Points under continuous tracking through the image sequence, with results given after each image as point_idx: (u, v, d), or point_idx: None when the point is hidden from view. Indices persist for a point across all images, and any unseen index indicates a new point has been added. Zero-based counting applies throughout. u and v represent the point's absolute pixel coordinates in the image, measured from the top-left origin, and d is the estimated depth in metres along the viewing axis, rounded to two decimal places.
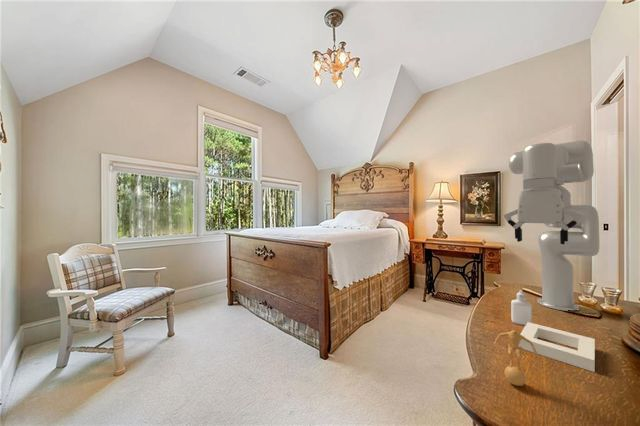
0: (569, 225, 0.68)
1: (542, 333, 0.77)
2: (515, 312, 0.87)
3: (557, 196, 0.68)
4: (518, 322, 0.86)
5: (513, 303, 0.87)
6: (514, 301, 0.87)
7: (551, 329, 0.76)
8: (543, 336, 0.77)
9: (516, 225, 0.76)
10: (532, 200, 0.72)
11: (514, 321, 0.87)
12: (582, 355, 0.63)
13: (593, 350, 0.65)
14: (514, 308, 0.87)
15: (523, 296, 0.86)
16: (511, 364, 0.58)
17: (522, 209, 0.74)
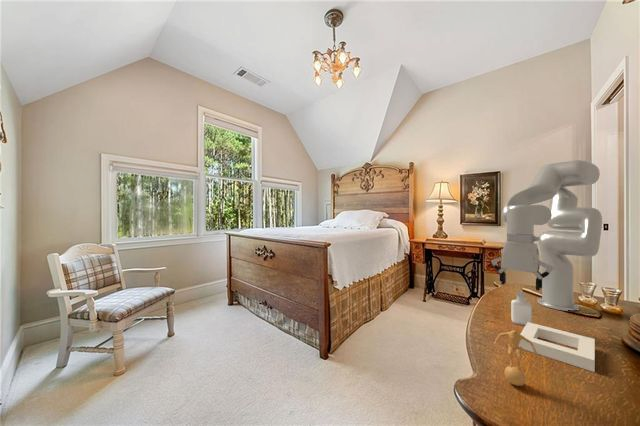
0: (543, 275, 0.82)
1: (542, 333, 0.77)
2: (515, 312, 0.87)
3: (533, 250, 0.83)
4: (518, 322, 0.86)
5: (513, 303, 0.87)
6: (514, 301, 0.87)
7: (551, 329, 0.76)
8: (543, 336, 0.77)
9: (500, 270, 0.90)
10: (513, 251, 0.86)
11: (514, 321, 0.87)
12: (582, 355, 0.63)
13: (593, 350, 0.65)
14: (514, 308, 0.87)
15: (523, 296, 0.86)
16: (511, 364, 0.58)
17: (505, 258, 0.88)
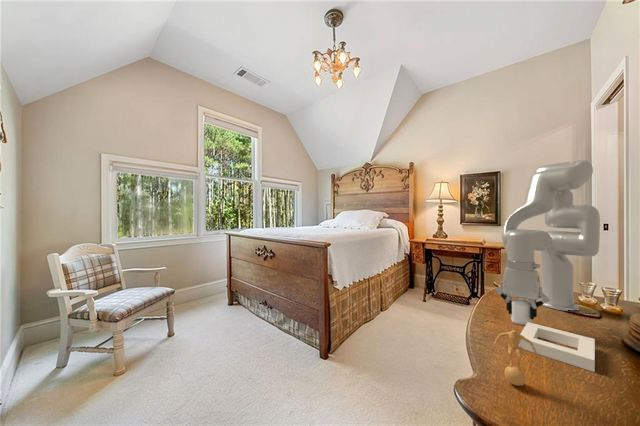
0: (537, 304, 0.83)
1: (542, 333, 0.77)
2: (515, 312, 0.87)
3: (534, 278, 0.83)
4: (518, 322, 0.86)
5: (513, 303, 0.87)
6: (514, 301, 0.87)
7: (551, 329, 0.76)
8: (543, 336, 0.77)
9: (507, 300, 0.89)
10: (514, 278, 0.87)
11: (514, 321, 0.87)
12: (582, 355, 0.63)
13: (593, 350, 0.65)
14: (514, 308, 0.87)
15: None
16: (511, 364, 0.58)
17: (506, 284, 0.89)
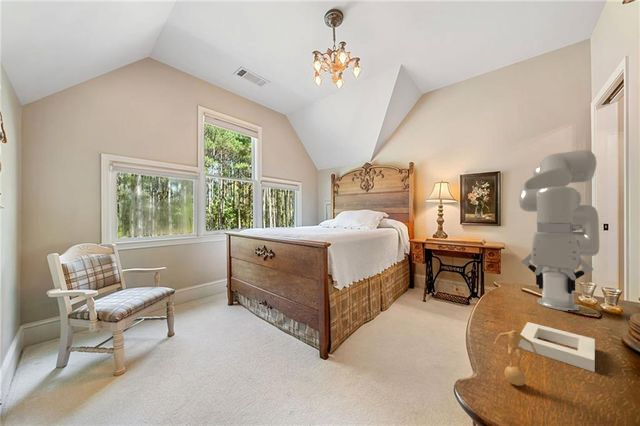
0: (576, 275, 0.67)
1: (542, 333, 0.77)
2: (548, 286, 0.71)
3: (573, 242, 0.67)
4: (551, 298, 0.70)
5: (545, 275, 0.71)
6: (546, 272, 0.71)
7: (551, 329, 0.76)
8: (543, 336, 0.77)
9: (537, 271, 0.73)
10: (547, 244, 0.71)
11: (546, 297, 0.71)
12: (582, 355, 0.63)
13: (593, 350, 0.65)
14: (546, 281, 0.71)
15: None
16: (511, 364, 0.58)
17: (536, 252, 0.73)
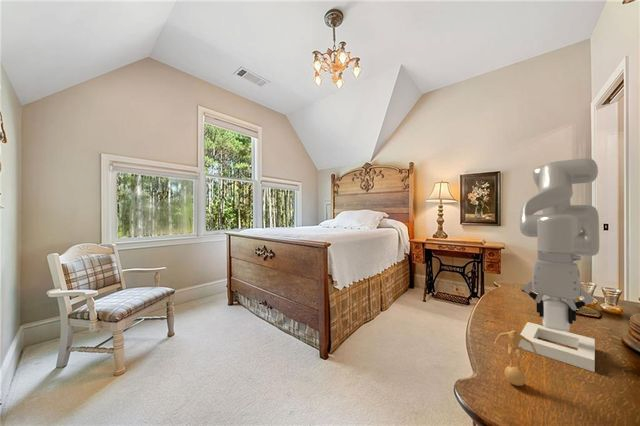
0: (577, 305, 0.67)
1: (542, 333, 0.77)
2: (548, 315, 0.71)
3: (574, 273, 0.67)
4: (552, 327, 0.70)
5: (546, 303, 0.71)
6: (547, 301, 0.71)
7: (551, 329, 0.76)
8: (543, 336, 0.77)
9: (538, 299, 0.73)
10: (547, 272, 0.70)
11: (547, 326, 0.71)
12: (582, 355, 0.63)
13: (593, 350, 0.65)
14: (547, 310, 0.71)
15: None
16: (511, 364, 0.58)
17: (537, 280, 0.72)
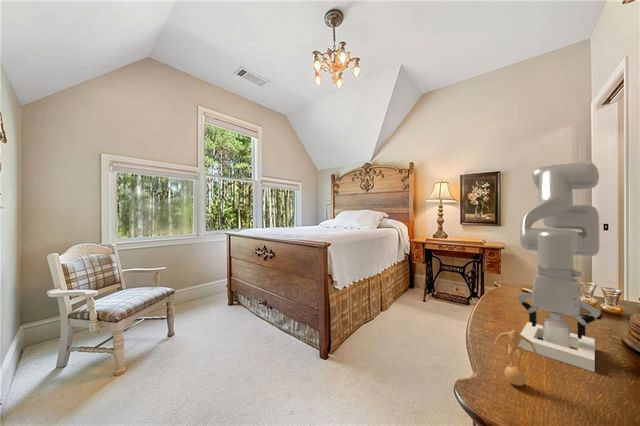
0: (587, 320, 0.66)
1: (542, 333, 0.77)
2: (549, 335, 0.71)
3: (574, 289, 0.67)
4: None
5: (546, 324, 0.71)
6: (547, 321, 0.71)
7: None
8: None
9: (531, 309, 0.74)
10: (548, 288, 0.70)
11: None
12: (582, 355, 0.63)
13: (593, 350, 0.65)
14: (548, 330, 0.71)
15: (559, 315, 0.70)
16: (511, 364, 0.58)
17: (537, 295, 0.72)
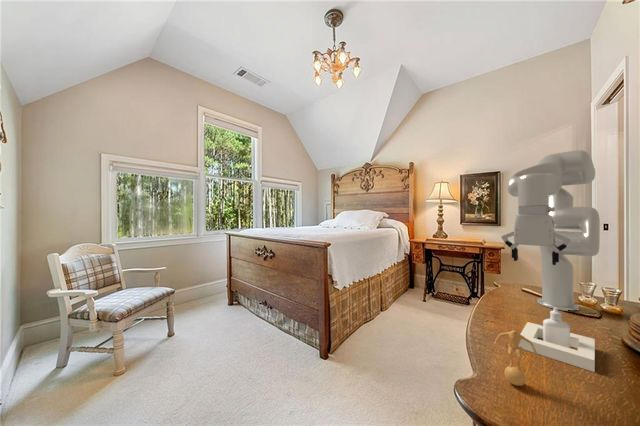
0: (560, 248, 0.75)
1: (542, 333, 0.77)
2: (549, 335, 0.71)
3: (549, 222, 0.76)
4: None
5: (546, 324, 0.71)
6: (547, 321, 0.71)
7: None
8: None
9: (512, 246, 0.84)
10: (527, 224, 0.80)
11: None
12: (582, 355, 0.63)
13: (593, 350, 0.65)
14: (548, 330, 0.71)
15: (559, 315, 0.70)
16: (511, 364, 0.58)
17: (518, 232, 0.82)
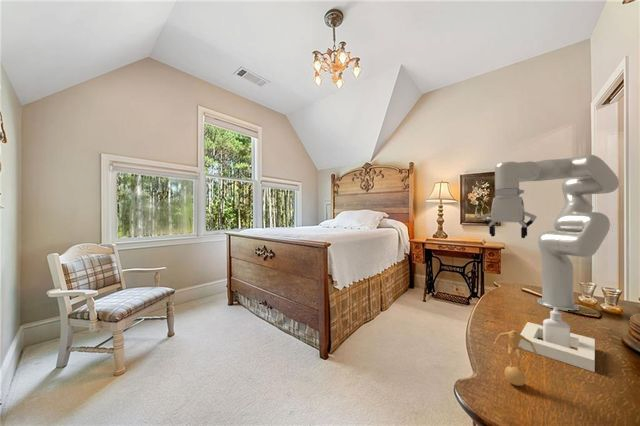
0: (527, 223, 0.90)
1: (542, 333, 0.77)
2: (549, 335, 0.71)
3: (519, 202, 0.91)
4: None
5: (546, 324, 0.71)
6: (547, 321, 0.71)
7: None
8: None
9: (490, 224, 0.99)
10: (501, 204, 0.95)
11: None
12: (582, 355, 0.63)
13: (593, 350, 0.65)
14: (548, 330, 0.71)
15: (559, 315, 0.70)
16: (511, 364, 0.58)
17: (494, 211, 0.97)
